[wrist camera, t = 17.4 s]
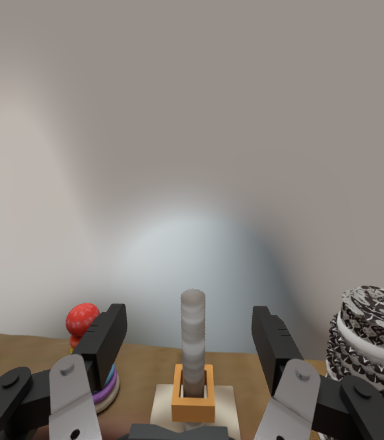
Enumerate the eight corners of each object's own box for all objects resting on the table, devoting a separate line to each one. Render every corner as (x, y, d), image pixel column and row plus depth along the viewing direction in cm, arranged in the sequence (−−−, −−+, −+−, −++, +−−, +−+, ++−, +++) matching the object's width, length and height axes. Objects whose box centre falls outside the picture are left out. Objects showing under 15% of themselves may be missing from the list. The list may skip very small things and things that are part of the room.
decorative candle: (329, 392, 38) (356, 271, 32) (395, 449, 31) (449, 305, 24) (299, 422, 34) (324, 289, 27) (368, 498, 26) (425, 337, 20)
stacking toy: (125, 371, 42) (115, 292, 38) (112, 417, 35) (98, 325, 30) (85, 373, 42) (71, 293, 37) (64, 419, 34) (42, 327, 30)
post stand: (250, 515, 25) (269, 346, 18) (135, 510, 25) (114, 343, 19) (232, 392, 38) (239, 268, 32) (157, 390, 39) (149, 268, 32)
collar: (214, 422, 27) (215, 406, 26) (171, 421, 27) (171, 405, 26) (211, 379, 32) (212, 364, 32) (176, 378, 32) (175, 363, 32)
